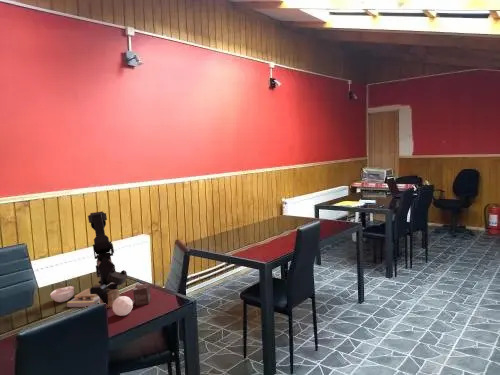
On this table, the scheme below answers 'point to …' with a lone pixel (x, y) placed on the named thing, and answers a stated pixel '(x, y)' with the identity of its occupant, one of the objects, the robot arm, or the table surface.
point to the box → (142, 294)
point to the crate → (112, 296)
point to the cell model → (62, 294)
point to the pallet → (85, 295)
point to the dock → (83, 302)
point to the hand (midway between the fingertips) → (110, 302)
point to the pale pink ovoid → (122, 305)
